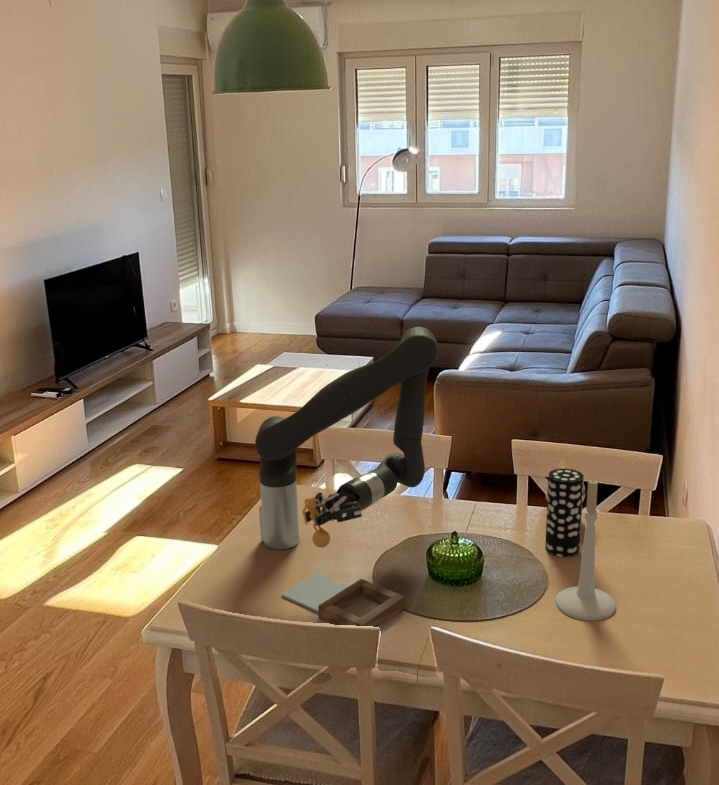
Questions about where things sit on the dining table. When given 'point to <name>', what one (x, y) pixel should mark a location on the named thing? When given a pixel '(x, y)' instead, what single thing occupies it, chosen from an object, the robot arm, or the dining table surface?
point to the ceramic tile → (314, 591)
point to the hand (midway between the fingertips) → (311, 519)
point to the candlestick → (587, 574)
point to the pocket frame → (361, 588)
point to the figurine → (320, 536)
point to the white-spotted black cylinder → (564, 512)
